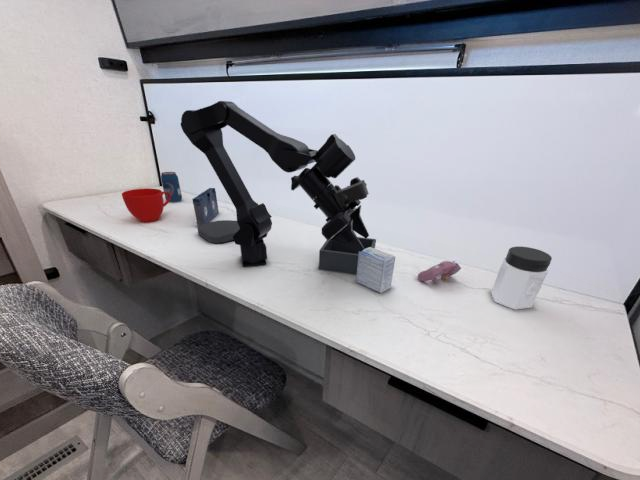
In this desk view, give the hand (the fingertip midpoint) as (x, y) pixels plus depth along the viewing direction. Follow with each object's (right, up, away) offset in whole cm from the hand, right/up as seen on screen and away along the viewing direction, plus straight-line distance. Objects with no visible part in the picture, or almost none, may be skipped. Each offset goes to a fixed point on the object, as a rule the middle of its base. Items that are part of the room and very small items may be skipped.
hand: (365, 243), depth 73 cm
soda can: (-77, +32, +66) cm, 107 cm away
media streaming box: (-44, +9, +31) cm, 54 cm away
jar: (+34, -14, -1) cm, 37 cm away
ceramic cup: (-75, +18, +44) cm, 88 cm away
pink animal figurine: (+20, -9, +7) cm, 23 cm away
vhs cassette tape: (-54, +17, +44) cm, 72 cm away
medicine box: (+2, -10, +4) cm, 11 cm away
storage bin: (-3, -3, +15) cm, 15 cm away
